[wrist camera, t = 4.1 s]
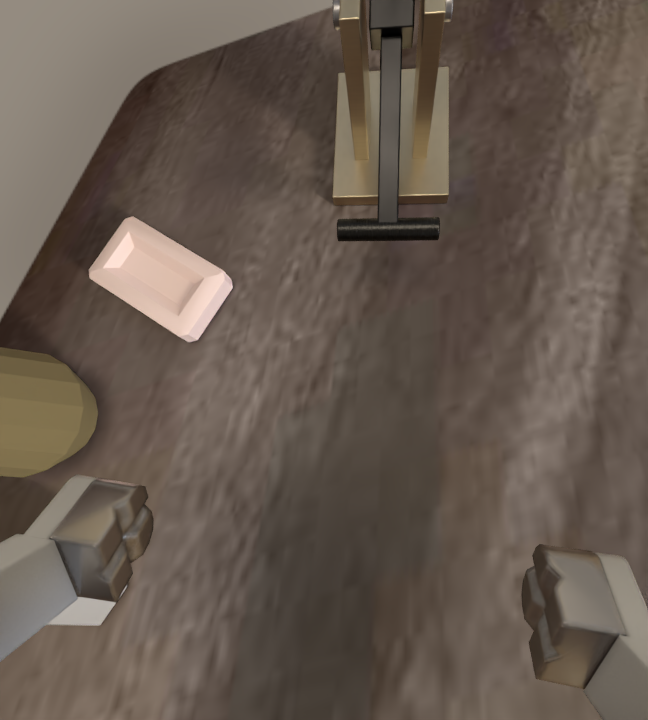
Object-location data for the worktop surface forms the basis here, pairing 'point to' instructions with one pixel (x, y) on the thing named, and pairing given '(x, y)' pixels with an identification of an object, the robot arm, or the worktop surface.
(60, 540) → the robot arm
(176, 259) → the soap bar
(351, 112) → the cream lever mount
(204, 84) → the worktop surface
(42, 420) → the squeeze bottle
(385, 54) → the lever
